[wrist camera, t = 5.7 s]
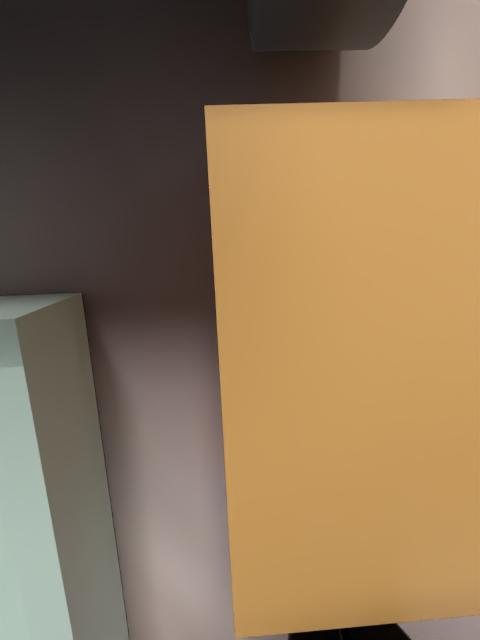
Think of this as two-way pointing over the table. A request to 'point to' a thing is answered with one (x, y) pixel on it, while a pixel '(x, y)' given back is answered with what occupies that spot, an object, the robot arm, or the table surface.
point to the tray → (53, 480)
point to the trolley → (320, 24)
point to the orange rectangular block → (348, 359)
